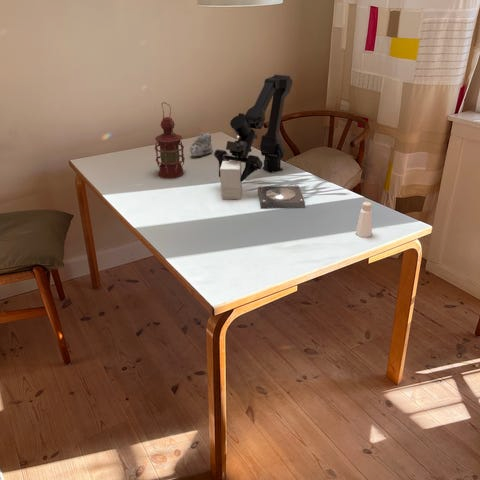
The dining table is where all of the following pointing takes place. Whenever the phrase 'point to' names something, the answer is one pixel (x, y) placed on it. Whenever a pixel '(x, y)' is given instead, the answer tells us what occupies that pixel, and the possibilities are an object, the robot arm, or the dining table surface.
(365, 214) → the pepper shaker
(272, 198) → the motor mount
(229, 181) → the supplement box
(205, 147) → the mineral rock
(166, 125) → the lantern
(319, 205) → the dining table surface
